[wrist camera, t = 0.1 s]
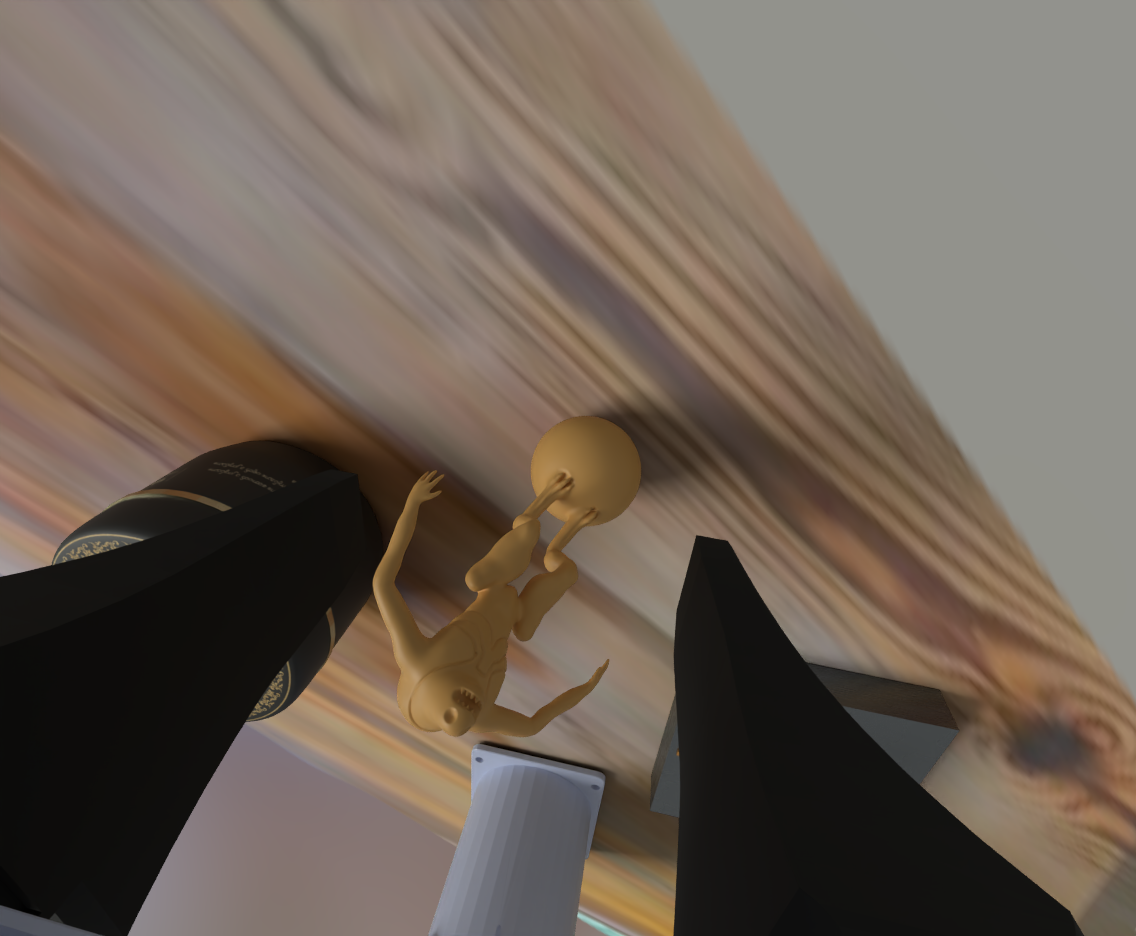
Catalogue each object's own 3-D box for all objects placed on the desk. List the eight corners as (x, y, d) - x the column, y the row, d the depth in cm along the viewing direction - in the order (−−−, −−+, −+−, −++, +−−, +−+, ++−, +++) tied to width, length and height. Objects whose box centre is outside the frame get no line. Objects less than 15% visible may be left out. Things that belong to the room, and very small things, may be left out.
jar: (309, 622, 30) (205, 751, 23) (165, 485, 27) (-3, 590, 20) (437, 556, 26) (354, 691, 19) (284, 386, 23) (121, 477, 16)
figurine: (693, 501, 22) (705, 807, 11) (575, 559, 24) (497, 852, 14) (570, 331, 19) (443, 525, 9) (453, 415, 22) (248, 642, 11)
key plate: (851, 821, 30) (862, 863, 28) (651, 774, 31) (649, 812, 29) (939, 690, 24) (960, 732, 22) (691, 639, 25) (692, 676, 23)
